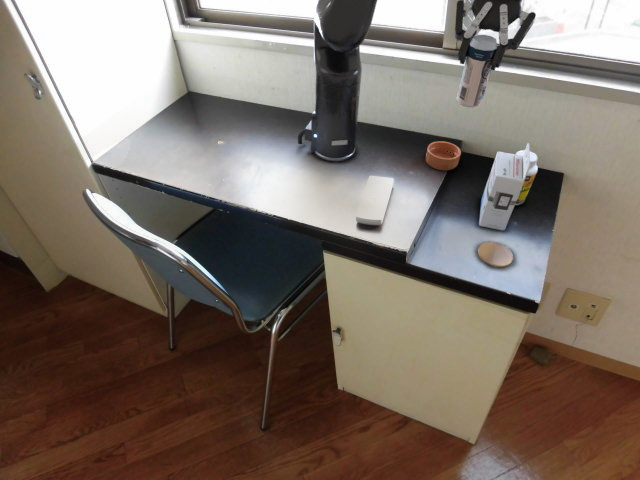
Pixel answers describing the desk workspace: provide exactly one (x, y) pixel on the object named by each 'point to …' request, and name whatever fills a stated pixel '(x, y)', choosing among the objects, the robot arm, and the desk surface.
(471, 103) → the cylindrical canister
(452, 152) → the terracotta bowl
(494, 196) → the ink box
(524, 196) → the supplement bottle
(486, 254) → the coaster
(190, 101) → the desk surface
